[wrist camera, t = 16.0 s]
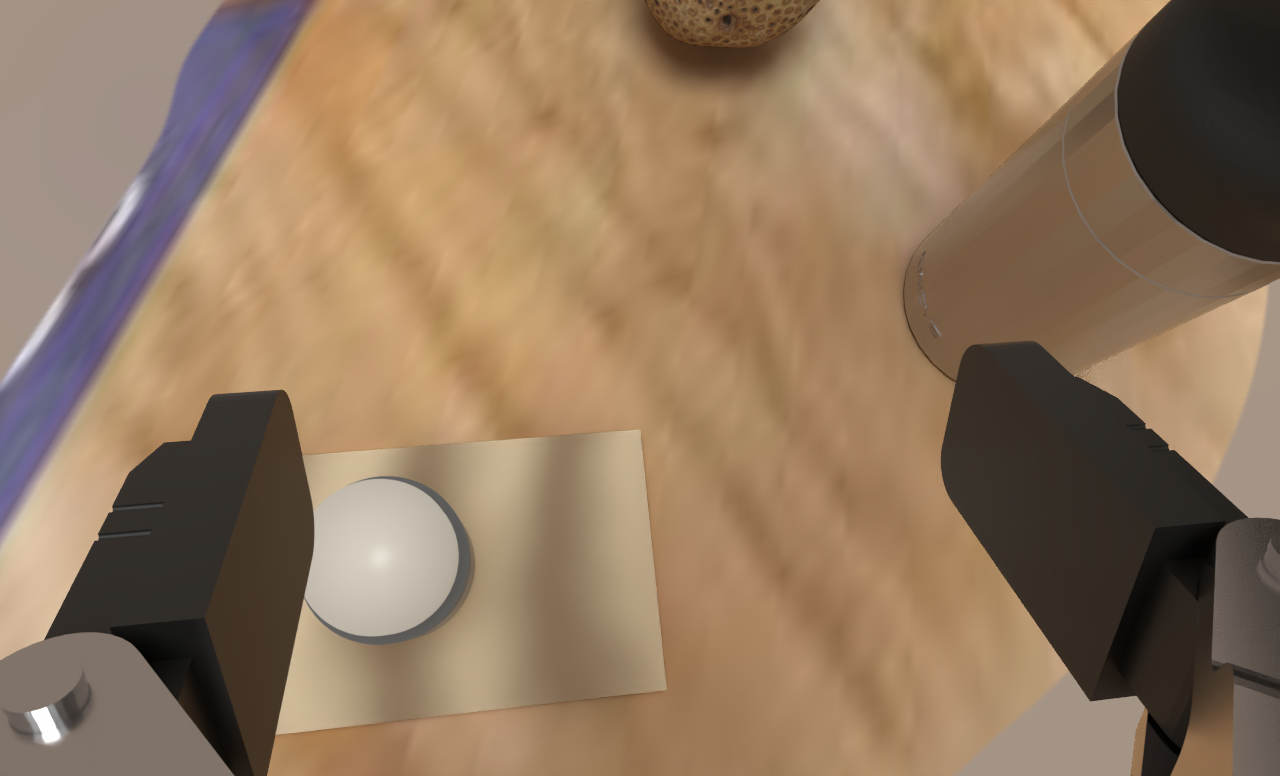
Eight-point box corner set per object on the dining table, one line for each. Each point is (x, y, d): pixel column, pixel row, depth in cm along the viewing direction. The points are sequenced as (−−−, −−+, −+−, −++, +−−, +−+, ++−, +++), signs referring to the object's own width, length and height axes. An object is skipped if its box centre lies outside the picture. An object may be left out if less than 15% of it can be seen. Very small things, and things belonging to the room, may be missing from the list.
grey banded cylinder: (474, 496, 40) (461, 464, 32) (481, 632, 39) (468, 638, 30) (338, 506, 40) (285, 475, 31) (339, 645, 38) (286, 654, 30)
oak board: (637, 433, 43) (640, 429, 42) (663, 688, 40) (666, 690, 39) (168, 470, 40) (159, 466, 39) (164, 745, 38) (155, 748, 37)
